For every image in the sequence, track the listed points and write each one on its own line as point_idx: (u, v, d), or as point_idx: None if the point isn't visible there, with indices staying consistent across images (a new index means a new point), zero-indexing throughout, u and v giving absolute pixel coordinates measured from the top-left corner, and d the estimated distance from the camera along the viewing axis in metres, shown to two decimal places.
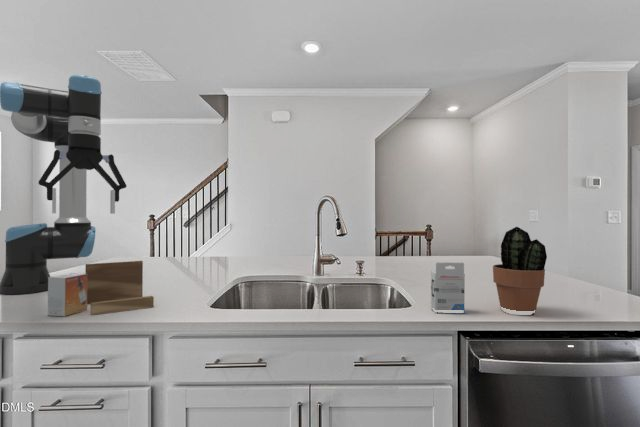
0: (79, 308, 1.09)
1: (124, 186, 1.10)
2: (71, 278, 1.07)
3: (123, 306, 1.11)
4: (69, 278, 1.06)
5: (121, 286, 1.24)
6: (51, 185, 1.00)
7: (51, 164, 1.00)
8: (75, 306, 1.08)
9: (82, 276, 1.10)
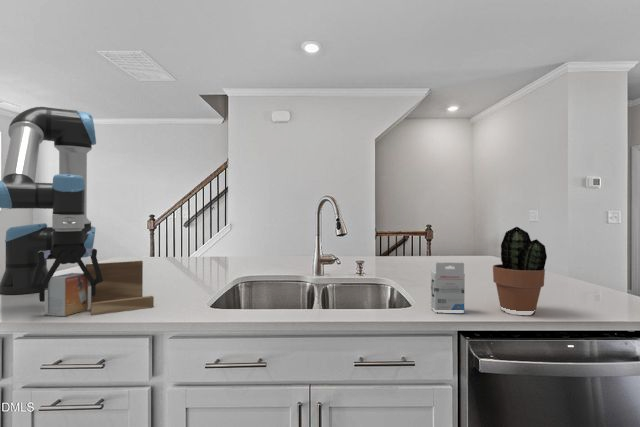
0: (79, 308, 1.09)
1: (100, 281, 1.12)
2: (71, 278, 1.07)
3: (123, 306, 1.11)
4: (69, 278, 1.06)
5: (121, 286, 1.24)
6: (43, 287, 1.04)
7: (38, 266, 1.04)
8: (75, 306, 1.08)
9: (82, 276, 1.10)
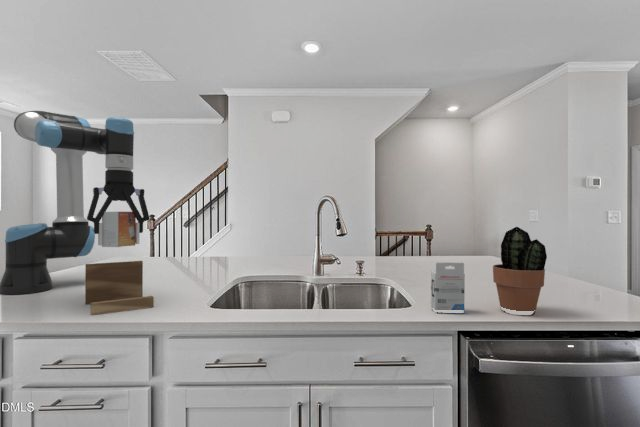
0: (129, 242, 1.18)
1: (147, 219, 1.21)
2: (123, 213, 1.16)
3: (123, 306, 1.11)
4: (121, 212, 1.15)
5: (121, 286, 1.24)
6: (98, 220, 1.14)
7: (94, 201, 1.13)
8: (126, 240, 1.17)
9: (131, 213, 1.19)
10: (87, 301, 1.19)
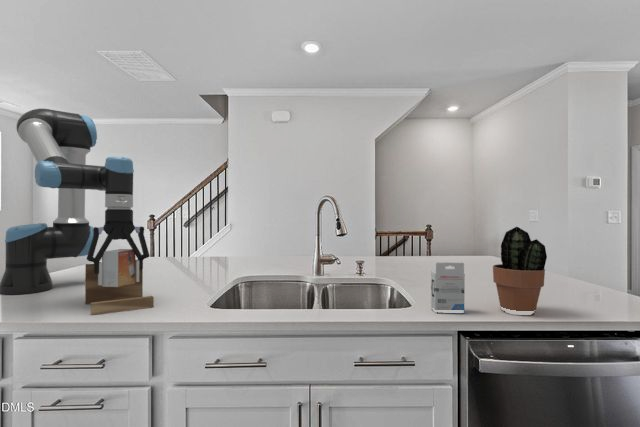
0: (128, 280, 1.18)
1: (147, 256, 1.22)
2: (123, 252, 1.16)
3: (123, 306, 1.11)
4: (121, 252, 1.15)
5: (121, 286, 1.24)
6: (98, 260, 1.14)
7: (94, 241, 1.13)
8: (125, 279, 1.17)
9: (131, 251, 1.19)
10: (87, 301, 1.19)
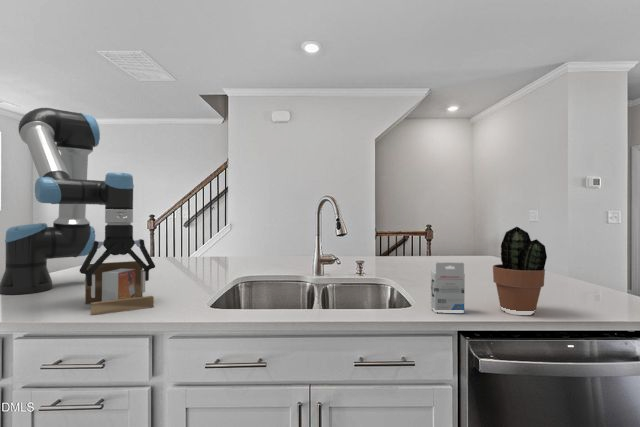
0: None
1: (153, 266, 1.23)
2: (123, 273, 1.16)
3: (123, 306, 1.11)
4: (121, 273, 1.15)
5: None
6: (91, 273, 1.13)
7: (91, 254, 1.13)
8: None
9: (131, 271, 1.20)
10: (87, 301, 1.19)
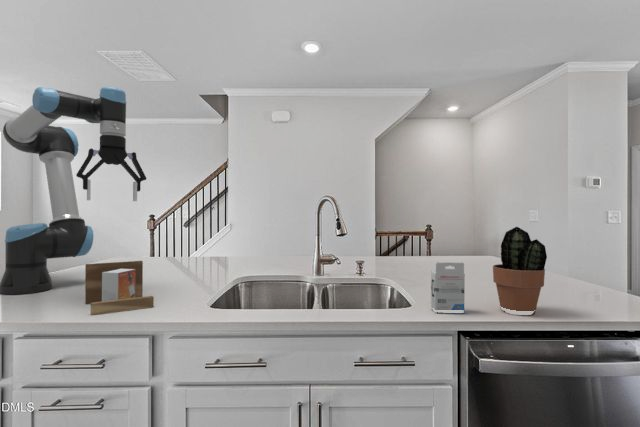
0: None
1: (144, 178, 1.33)
2: (123, 273, 1.16)
3: (123, 306, 1.11)
4: (121, 273, 1.15)
5: None
6: (86, 177, 1.23)
7: (86, 160, 1.23)
8: None
9: (131, 271, 1.20)
10: (87, 301, 1.19)
